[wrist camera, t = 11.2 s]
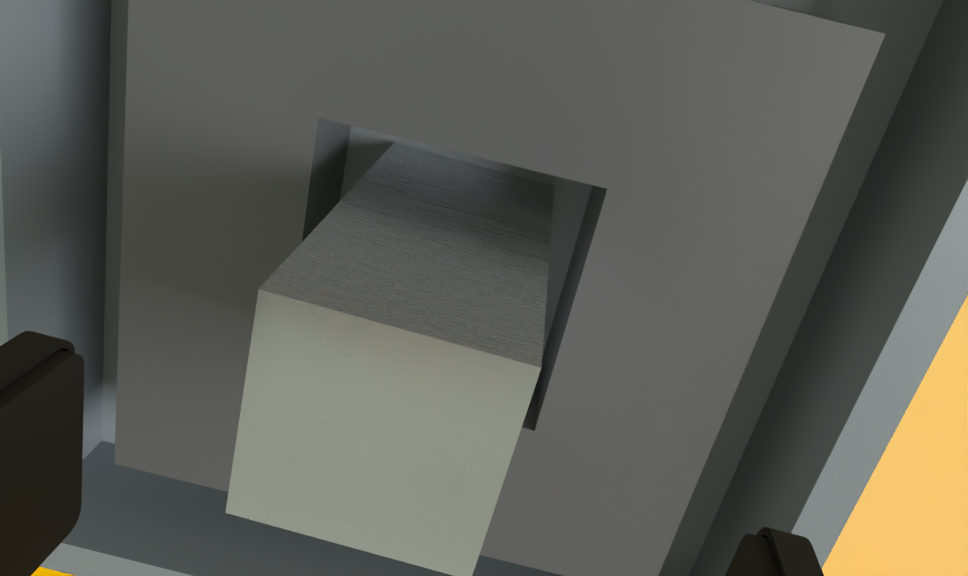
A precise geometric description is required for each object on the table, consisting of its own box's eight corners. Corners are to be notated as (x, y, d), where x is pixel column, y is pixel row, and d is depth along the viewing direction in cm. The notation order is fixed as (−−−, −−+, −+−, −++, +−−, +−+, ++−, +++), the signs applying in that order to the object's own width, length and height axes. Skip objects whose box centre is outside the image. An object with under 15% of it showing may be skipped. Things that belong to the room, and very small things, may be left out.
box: (1015, -96, 16) (1184, -114, 12) (701, 592, 25) (730, 739, 20) (97, -321, 17) (-83, -423, 12) (88, 440, 25) (-22, 551, 20)
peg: (554, 186, 19) (541, 367, 11) (510, 327, 20) (470, 580, 12) (395, 141, 19) (258, 288, 11) (364, 287, 20) (225, 512, 12)
